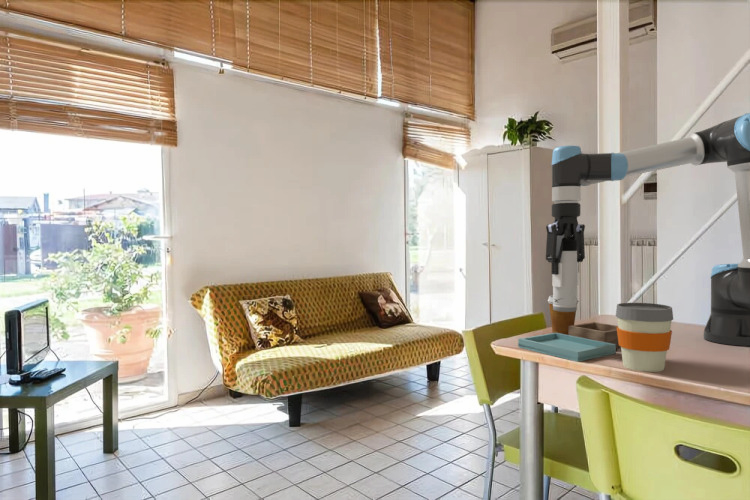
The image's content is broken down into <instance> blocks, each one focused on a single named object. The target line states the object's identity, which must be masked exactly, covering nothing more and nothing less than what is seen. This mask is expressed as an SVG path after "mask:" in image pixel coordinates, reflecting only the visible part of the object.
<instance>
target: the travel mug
mask: <svg viewBox="0 0 750 500" xmlns="http://www.w3.org/2000/svg"><path fill="white" fill-rule="evenodd" d="M560 263H562V287H556V286H552V295H553V310H555V311H561V312H574V311H576V312H577V310H578V309H577V308H578V304H577V300H578V285H577V240H571V239H564V240H563V251H562V255H561V260H560ZM576 304H577V305H576Z"/></svg>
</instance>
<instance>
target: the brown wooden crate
mask: <svg viewBox="0 0 750 500" xmlns="http://www.w3.org/2000/svg"><path fill="white" fill-rule="evenodd" d="M617 327H618V325H615V324H608V323H603V322H596V321H592V322H591V321H590V322H585V323H579V324H574V325H572V326H569V335H571V336H576V337H581V338H586V339H591V340H596V341H601V342H606V343H611V344H616V349H617V348H621V346H619V342H618V335H617Z"/></svg>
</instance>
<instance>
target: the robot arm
mask: <svg viewBox="0 0 750 500" xmlns="http://www.w3.org/2000/svg"><path fill="white" fill-rule="evenodd" d="M714 163H726V166H727V167H726V168H728V169H729V170H730V171H732V172H733V173H734V175H735V176H734V178H735V187H736V188H735V189H736V199H737V206H738V207H737V208H738V218H739V228H740V236H741V238H740V239H741V247H742V256H743V257H742V260H741V261H740V262H739V263H724V264H715V265H713V267H711V273H710V315H709V317H708V320H707V322H706V325H705V327H704V330H703V339H704V340H706V341H709V342H712V343H718V344H722V345H723V344H724V345H729V346H730V345H731V346H739V347H740V346H741V347H743V346H744V347H750V112H747V113H744V114H742V115H739V116H737V117H734V118H732V119H729V120H726V121H723V122H721V123H718V124H716V125H714V126H710V127H708V128H706V129H703V130H699V131H697V132H692V133H691V132H690V133H689V134H687V136H686V137H685V138H680V139H676V140H671V141H667V142H662V143H657V144H652V145H649V146H644V147H639V148H635V149H630V150H626V151H625V150H624V151H621V152H616V153H615V152H609V153H608V152H607V153H606V152H604V153H602V152H601V153H582V149H581V146H580V145H560V146H557V147H555V148H554V149H553V150H552V156H551V202H553V203H552V204H551V217H552V218H554V220H553V223H549V224H545V225H546V226H545V228H546V229H545V230H546V248H545V249H546V250H545V261H547V262H548V263H551V275H552V277H551V281H552V282H551V284H552V287H553V286H556V287H562V263H560V260H561V255H562V251H563V240H564V239H571V240H577V286H579V278H580V277H579V273H580V263H583V261H584V260H585V258H586V255H585V254H586V253H585V230H586V229H585V228H586V225H585V224H580V223H579V222H578V218H579V217H581V204H580V203H579V202H580V201H582V199H581V197H582V196H581V195H582V193H581V191H582V189H581V187H586V186H591V185H594V184H599V183H604V182H614V181H615V182H616V181H622V180H624V179H625V178H626V177H632V176H635V175H641V174H645V173H651V172H655V171H660V170H664V169H665V170H666V169H671V168H675V167H679V166H684V165H688V164H691V165H693V166H700V165H705V164H714Z"/></svg>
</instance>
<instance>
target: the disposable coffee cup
mask: <svg viewBox="0 0 750 500" xmlns="http://www.w3.org/2000/svg"><path fill="white" fill-rule="evenodd" d="M547 303H548V306H549V314H550V322H551V330H552V332H551V333H560V334H565V335H569V326H572V325H575V321H576V313H577V310H576V311H574V312H561V311H555V310H553V294H552V295H549V296H548V299H547ZM578 303H579V300H578V299H577V304H576V305H577V306H578Z"/></svg>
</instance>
